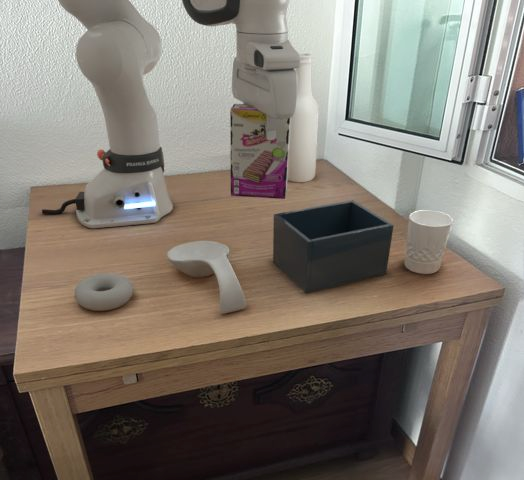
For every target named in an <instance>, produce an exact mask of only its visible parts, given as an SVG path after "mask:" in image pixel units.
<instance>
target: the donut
mask: <svg viewBox="0 0 524 480" xmlns="http://www.w3.org/2000/svg"><path fill="white" fill-rule="evenodd" d="M133 287H134V285H133V284H132V282H131V281H130V279H128V278H127V277H126V276H124V275H122V274H119V273H116V272H115V273H114V272H102V273H97V274H92V275H88V276H87V277H85V278H83V279H81V281H79V282H78V283H77V285H76V286H75V289H74V299H75V301H76V302H77V304H78V305H79V306H81V307H82V308H85V309H86V310H90V311H95V312H103V311H111V310H114V309H118V308H120V307H122V306H124V305H126V303H127V302H129V301H130V300H131V298H132V296H133V293H134V288H133Z"/></svg>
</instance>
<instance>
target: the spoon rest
mask: <svg viewBox="0 0 524 480" xmlns="http://www.w3.org/2000/svg"><path fill="white" fill-rule="evenodd" d="M230 252H231V251H230V248H229V246H227V244H224V243H222V242H219V241H214V240H196V241H189V242H184V243H181V244H178V245H176V246H173V247H172V248H170V249H168V251H167V253H166V259H167V260H168V261H169V263H170V264H171V266H173V267H174V268H175V269H176V270H178V271H180V272H182V273H183V274H185V275H187V276H189V277H192V278H205V277H206V278H207V277H209V276H211V275H213V274H214V276H215V277H216V280H217V284H218V288H219V313H220V314H221V315H224V314H225V315H226V314H230V313H233V312H238V311H242V310H245V309H246V308H247V303H246V297H245V294H244V291H243V288H242V286H241V284H240V282H239V279H238V277H237V275H236V273H235V271H234V268H233V266H232V264H231V262H230V260H229V255H230Z"/></svg>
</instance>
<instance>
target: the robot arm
mask: <svg viewBox="0 0 524 480" xmlns="http://www.w3.org/2000/svg"><path fill="white" fill-rule="evenodd" d="M57 1H58V3H59V5H60V6H61V7H62V8H63V9H64V10H65V11H66V12H67V13H68V14H70V15H71V16H72V17H74V18H75V19H76V20H78V22H80V24H82V25H83V27H85V29H86V32H84V33H83V34H82V35H81V37H80V38H79V40H78V42H77V44H76V48H75V59H76V62H77V66H78V68H79V70H80V72H81V73H82V75H83V76H84V77H85V78H86V80H88V81H89V82H90V83H91V85H92V87H93V89H94V92H95V94H96V96H97V98H98V101H99V104H100V106H101V109H102V113H103V117H104V122H105V127H106V133H107V139H108V144H109V145H108V146H109V149H108V150H107V151H105V150H104V149H98V150H97V152H96V156H97V157H98V159H99V160H100V161H102V165H103V168H102V169H101V170H100V171H99V172H98V173H97V174H96V175H95V176H94V177H93V178H92V179H91V180H90V181H89V182H88V183H87V184H86V186H85V187H84V191H78V193H77V195H76V197H75V198H73V199H69V200H66V201H64V202H63V203H62V204H61V206H60V208H58V209H43V208H42V209H41V213H42V214H43V215H59V214H62V213H64V212H65V211H66V208H67V207H68V206H71V205H73V204H75V206H76V211H75V212H76V213H75V214H76V218H77V221H78V222H79V223H80V224H81V225H82V226H84V227H86V228H89V229H103V228H112V227H113V228H114V227H124V226H125V227H126V226H133V225H134V226H135V225H145V224H146V225H147V224H154V223H158V222H159V221H160V220H161V218H162V217H164V216H166V215H168V214H169V213H171V212H172V211H173V209H174V205H173V202H172V200H171V197H170V194H169V190H168V187H167V186H168V185H167V182H166V178H165V159H164V151H163V147H161V144H160V134H159V124H158V116H157V110H156V108H155V107H154V105H153V104H152V103H151V101H150V98H149V95H148V93H147V89H146V87H145V83H144V76H146V75H147V74H150V73H151V72H152V71H153V69H154V68H155V67H156V66H157V64H158V62H159V61H160V59H161V57H162V53H163V42H162V39H161V36H160V34H159V32H158V30H157V29H156V28H155V27H154V26H153V24H151V23H150V22H148V21H147V20H146V19H145V18H144V17H143V15H141V13H140V12H139V11H138V10H137V8H136V7H135V5H133V3H132V2H131V0H57ZM181 2H182V5H183V7H184V10H185V12H186V13H187V15H188V17H190V19H191V20H193V21H194V22H195V23H196V24H199V25H202V26H206V27H219V26H226V25H230V24H234V25H235V36H236V38H235V42H236V45H235V46H236V48H235V49H236V56H235V57H234V58H233V62H232V70H231V71H232V73H231V93H232V96H233V98H234V99H235V100H238V101H240V102H242V104H247V105H249V106H251V107H253V108H255V109H257V110H259V111H261V112H263V113H264V114H266V120H267V125H266V128H264V138H266V139H267V140H274V139H275V138H276V129H277V126H278V124H279V121H280V119H287V118H292V116H293V114H294V112H295V108H296V99H297V73H296V71H295V69H296V68H299V66H300V55H299V54H300V53H299V51H297V50H296V49H295V47H294V46H293V45H292V43H291V42H290V40H289V39H288V38H289V27H288V21H287V13H288V8H289V4H290V0H181Z"/></svg>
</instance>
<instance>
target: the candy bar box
mask: <svg viewBox="0 0 524 480" xmlns="http://www.w3.org/2000/svg"><path fill="white" fill-rule="evenodd" d="M229 114H230V124H229V125H230V136H229V137H230V196H231V197H243V198H244V197H245V198H246V197H247V198H259V199H260V198H263V199H277V200H278V199H279V200H285V199H286V196H287V192H288V183H289V181H288V163H289V145H290V129H291V118H287V119H280V121H279V124H278V126H277V129H276V138H275V139H274V140H267V139H266V138H264V128H266V125H267V120H266V114H264V113H263V112H261V111H259V110H257V109H255V108H253V107H251V106H249V105H247V104H243V103H233V104H232V106H231V108H230V113H229Z"/></svg>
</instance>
